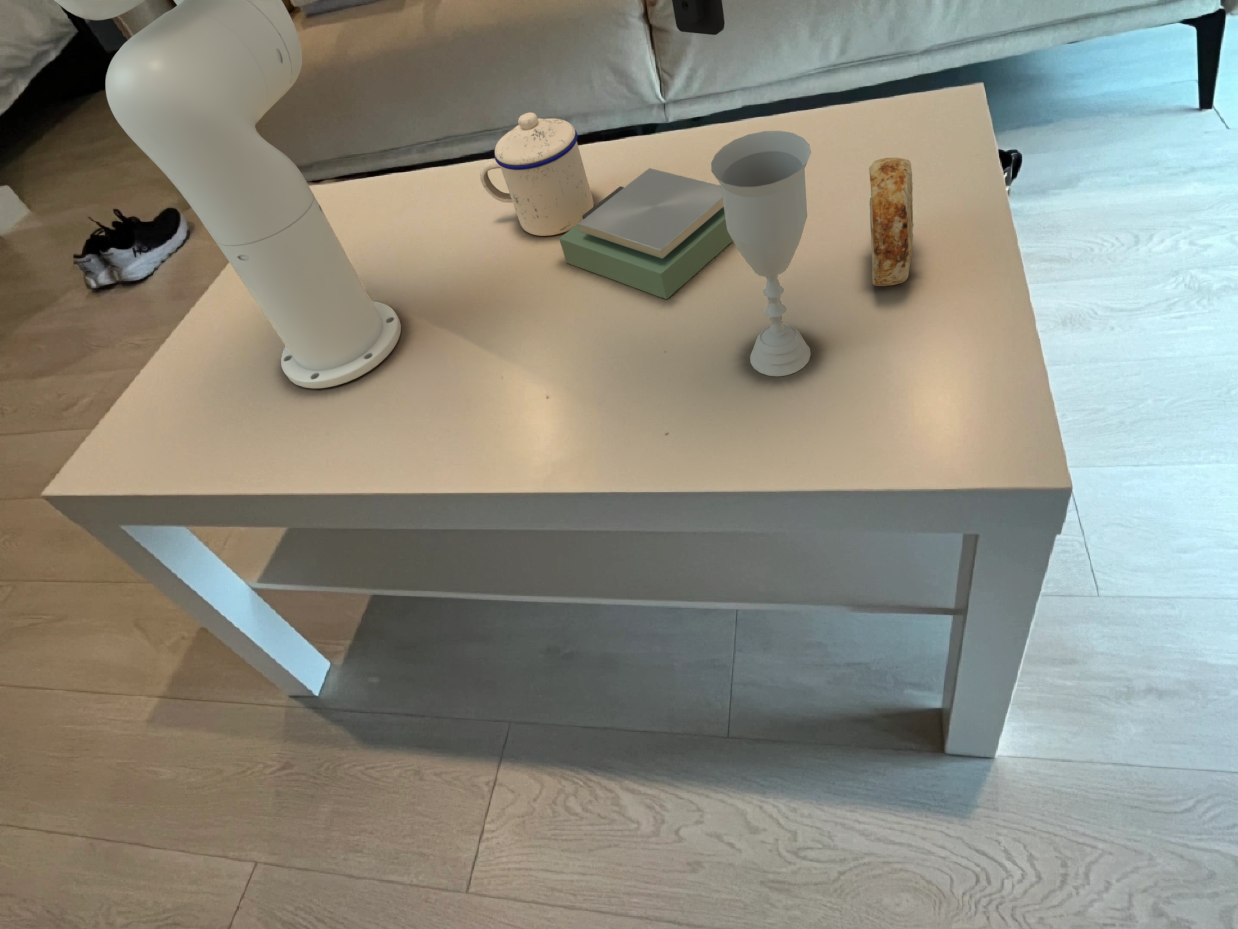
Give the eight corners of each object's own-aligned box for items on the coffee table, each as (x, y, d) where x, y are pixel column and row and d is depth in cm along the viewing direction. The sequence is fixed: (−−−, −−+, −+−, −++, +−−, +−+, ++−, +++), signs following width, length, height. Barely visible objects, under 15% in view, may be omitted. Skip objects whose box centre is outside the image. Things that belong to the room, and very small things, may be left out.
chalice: (819, 384, 66) (808, 181, 53) (735, 386, 68) (704, 191, 55) (823, 325, 70) (813, 125, 57) (744, 329, 72) (717, 136, 59)
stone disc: (912, 306, 69) (917, 201, 62) (866, 307, 70) (866, 205, 63) (911, 235, 76) (916, 133, 69) (869, 237, 77) (870, 137, 70)
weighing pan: (580, 231, 82) (577, 223, 81) (651, 176, 86) (649, 167, 85) (662, 259, 75) (660, 250, 75) (734, 197, 80) (733, 188, 79)
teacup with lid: (603, 189, 94) (577, 89, 86) (587, 234, 88) (557, 132, 80) (507, 199, 97) (474, 104, 89) (486, 244, 92) (447, 146, 83)
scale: (566, 262, 86) (557, 233, 83) (646, 198, 91) (640, 168, 88) (666, 299, 78) (659, 268, 75) (748, 227, 83) (745, 195, 80)
